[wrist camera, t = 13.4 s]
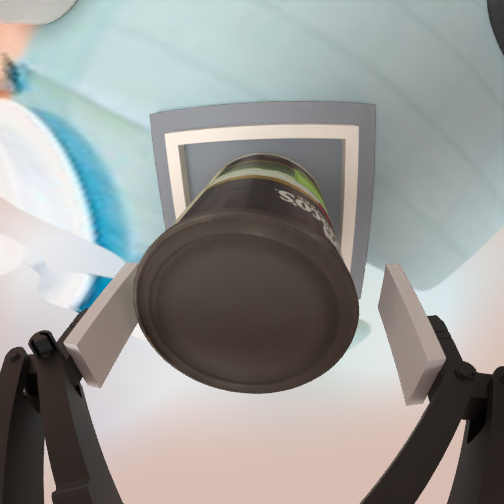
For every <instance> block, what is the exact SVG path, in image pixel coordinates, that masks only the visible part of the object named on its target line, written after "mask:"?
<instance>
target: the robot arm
mask: <svg viewBox="0 0 504 504" xmlns="http://www.w3.org/2000/svg"><path fill="white" fill-rule="evenodd" d="M488 8H489V14H490V18H491V22H492V26H493V29H494V32H495V35H496V37H497V40H498V42H499V45H500V47H501V49H502V51H503V53H504V0H488ZM137 267H138V263H126V264H125V265H124V266H123V268H122V269H121V270H120V271H119V273H117V275H116V276H115V277H114V278H113V279H112V281H111V282H110V283H109V284H108V286H107V287H106V288H105V289H104V290H103V292H102V293H101V294H100V295H99V297H98V298H97V299H96V300H95V302H94V303H93V304H92V305H91V307H90V308H86V309H85V310H83V311H82V312H80V313H79V314H78V315H77V317H76V318H75V319H74V321H73V322H72V323H71V324H70V325H69V327H68V328H67V330H66V331H65V332H64V333H63V335H62V336H61V337H60V338H59V340H58V341H57V342H56V341H55V339H54V337H53V335H52V333H51V332H50V331H46V330H43V331H39V332H38V333H35V334H34V335H33V336H32V337H31V338H30V340H29V343H28V345H29V347H30V348H31V350H32V352H33V353H34V354H30V355H28V354H27V353H26V351H25V350H24V348H22V347H16V348H13V349H11V350H10V351H9V352H8V353H7V354H6V356H5V359H4V362H3V365H2V369H1V372H0V504H44V487H43V485H44V484H43V465H44V439H45V440H46V446H47V450H48V455H49V460H50V464H51V469H52V473H53V477H54V481H55V484H56V491H54V492H52V501H53V504H123V502H122V500H121V498H120V495H119V493H118V491H117V489H116V486H115V484H114V482H113V479H112V477H111V474H110V472H109V470H108V467H107V464H106V462H105V459H104V456H103V453H102V451H101V448H100V445H99V442H98V439H97V436H96V433H95V430H94V427H93V424H92V420H91V417H90V414H89V410H88V407H87V403H86V399H85V395H84V392H83V388H82V386H81V384H80V381H81V379H82V377H83V378H84V380H85V381H86V383H87V384H88V385H90V386H94V387H98V388H101V386H102V385H103V383H104V381H105V379H106V377H107V375H108V374H109V372H110V370H111V368H112V366H113V365H114V363H115V361H116V359H117V357H118V356H119V354H120V352H121V350H122V349H123V347H124V345H125V343H126V342H127V340H128V338H129V337H130V335H131V333H132V331H133V330H134V328H135V326H136V325H137V323H138V320H137V318H136V314H135V310H134V306H133V292H132V291H133V282H134V277H135V274H136V270H137ZM378 309H379V312H380V315H381V318H382V322H383V325H384V328H385V331H386V334H387V337H388V341H389V344H390V347H391V350H392V354H393V357H394V361H395V364H396V368H397V371H398V375H399V378H400V383H401V386H402V390H403V394H404V398H405V402H406V405H407V406H408V405H415V404H422V403H423V402H424V400H425V399H426V397H427V395H428V398H429V401H430V403H429V405H428V407H427V408H426V410H425V412H424V413H423V415H422V417H421V419H420V421H419V422H418V424H417V426H416V427H415V429H414V431H413V432H412V434H411V435H410V437H409V438H408V440H407V441H406V443H405V444H404V446H403V448H402V449H401V450H400V452H399V453H398V455H397V456H396V458H395V459H394V460H393V462H392V463H391V465H390V466H389V467H388V469H387V470H386V471H385V473H384V474H383V475H382V477H381V478H380V479H379V481H378V482H377V483H376V485H375V486H374V487H373V488H372V489H371V491H370V492H369V493H368V494H367V496H366V497H365V498H364V499H363V500H362V501H361V503H360V504H414V503H415V502H416V501H417V499H418V498H419V496H420V494H421V493H422V491H423V490H424V488H425V487H426V485H427V483H428V482H429V480H430V478H431V477H432V475H433V473H434V472H435V470H436V468H437V466H438V465H439V463H440V461H441V459H442V457H443V455H444V454H445V452H446V449H447V448H448V446H449V443H450V442H451V440H452V438H453V436H454V434H455V432H456V429H457V427H458V425H459V423H460V421H461V419H463V420H466V426H465V432H464V437H463V443H462V448H461V453H460V457H459V462H458V466H457V470H456V474H455V478H454V482H453V486H452V489H451V492H450V496H449V499H448V502H447V504H504V366H501V367H499V368H497V369H496V370H495V371H494V373H493V374H483V373H478V372H476V369H475V368H474V367H473V366H472V365H471V364H469V363H468V362H464V361H463V360H462V358H461V356H460V354H459V352H458V350H457V347H456V345H455V343H454V341H453V339H451V335H450V333H449V332H448V329H447V327H446V325H445V324H444V322H443V321H442V320H441V319H440V318H439V317H438V316H437V315H434V316H426V313H425V311H424V310H423V307H422V305H421V303H420V301H419V300H418V297H417V295H416V294H415V292H414V290H413V288H412V286H411V284H410V282H409V280H408V278H407V277H406V275H405V273H404V271H403V269H402V267H401V266H400V264H386V268H385V273H384V280H383V284H382V290H381V295H380V300H379V305H378ZM24 390H25V391H24Z"/></svg>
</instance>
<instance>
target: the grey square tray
mask: <svg viewBox="0 0 504 504" xmlns="http://www.w3.org/2000/svg"><path fill="white" fill-rule="evenodd" d="M149 115H150V124H151V133H152V142H153V150H154V157H155V165H156V172H157V179H158V185H159V192H160V198H161V204H162V210H163V216H164V222H165V228H166V230H167V229H169V228H170V227H171V225H172V224H173V223H174V222H175V221H176V220H177V218H178V217H179V216H180V215H181V214H182V213H183V211H184V210H185V209H186V208H187V207H188V206H189V205H190V203H191V202H192V201H193V200H194V199H195V198H196V196H197V195H198V194H199V193H200V192H201V191H202V190H203V189H204V188H205V187H206V186H207V185H208V183H209V182H210V181H211V180H212V179H213V177H214V176H215V174H216V173H217V172H218V171H219V170H220V169H221V168H222V167H223V166H224V165H226V164H227V163H228V162H230V161H232V160H234V159H236V158H238V157H241V156H243V155H247V154H252V153H274V154H279V155H282V156H285V157H287V158H290V159H292V160H294V161H295V162H297V163H299V164H300V165H301V166H303V167H304V168H305V169H306V170H307V171H308V172H309V173H310V174H311V175H312V176H313V177H314V179H315V180H316V181H317V183H318V185H319V187H320V189H321V192H322V195H323V198H324V203H325V206H326V209H327V212H328V215H329V218H330V221H331V223H332V226H333V229H334V232H335V235H336V238H337V241H338V244H339V247H340V250H341V254H342V257H343V259H344V263H345V265H346V267H347V268H348V270H349V272H350V275H351V277H352V279H353V282H354V285H355V289H356V292H357V296H358V299H360V298H361V292H362V285H363V279H364V272H365V265H366V257H367V249H368V240H369V231H370V221H371V210H372V198H373V183H374V165H375V132H376V105H375V104H362V103H346V102H314V101H289V102H257V103H240V104H227V105H215V106H205V107H196V108H188V109H181V110H173V111H166V112H160V113H154V114H149Z"/></svg>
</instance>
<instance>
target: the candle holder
mask: <svg viewBox="0 0 504 504" xmlns="http://www.w3.org/2000/svg"><path fill="white" fill-rule="evenodd" d="M76 1H77V0H0V24H48V23H51V22H53V21H55V20H57V19H59V18H60V17H61V16H63V15H64V14H65V13H66V12H67V11H68V10H69V9H70V8H71V7H72V6H73V5H74V3H75V2H76Z"/></svg>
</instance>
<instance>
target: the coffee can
mask: <svg viewBox="0 0 504 504" xmlns="http://www.w3.org/2000/svg"><path fill="white" fill-rule="evenodd" d="M132 292H133V306H134V310H135V314H136V318H137V320H138V323H139V325H140V328H141V330H142V332H143V334H144V335H145V337H146V339H147V340H148V341H149V343H150V344H151V346H152V347H153V348H154V349H155V350H156V352H157V353H158V354H159V355H160V356H161V357H162V358H163V359H164V360H165V361H166V362H168V363H169V364H171V366H173V367H174V368H175V369H177V370H178V371H180V372H182V373H183V374H185V375H186V376H188V377H190V378H192V379H194V380H196V381H198V382H201V383H203V384H206V385H208V386H212V387H215V388H218V389H222V390H226V391H231V392H240V393H252V394H262V393H272V392H280V391H285V390H289V389H293V388H295V387H298V386H301V385H303V384H306V383H308V382H310V381H312V380H314V379H316V378H318V377H319V376H321V375H322V374H324V373H325V372H327V371H328V370H329V369H330V368H332V367H333V366H334V365H335V364H336V363H337V362H338V361H339V360H340V359H341V358H342V357H343V355H344V353H345V352H346V351H347V349H348V348H349V346H350V344H351V342H352V340H353V337H354V335H355V332H356V328H357V325H358V319H359V303H358V296H357V292H356V289H355V285H354V282H353V279H352V277H351V275H350V272H349V270H348V268H347V267H346V265H345V263H344V259H343V257H342V254H341V250H340V247H339V244H338V241H337V238H336V235H335V232H334V229H333V226H332V223H331V221H330V218H329V215H328V212H327V209H326V206H325V203H324V198H323V195H322V192H321V189H320V187H319V185H318V183H317V181H316V180H315V179H314V177H313V176H312V175H311V174H310V173H309V172H308V171H307V170H306V169H305V168H304V167H303V166H301V165H300V164H299V163H297V162H295V161H294V160H292V159H290V158H287V157H285V156H282V155H279V154H274V153H252V154H247V155H243V156H241V157H238V158H236V159H234V160H232V161H230V162H228V163H227V164H226V165H224V166H223V167H222V168H221V169H220V170H219V171H218V172H217V173H216V174H215V176H214V177H213V179H212V180H211V181H210V182H209V183H208V185H207V186H206V187H205V188H204V189H203V190H202V191H201V192H200V193H199V194H198V195H197V196H196V198H195V199H194V200H193V201H192V202H191V203H190V205H189V206H188V207H187V208H186V209H185V210H184V211H183V213H182V214H181V215H180V216H179V217H178V218H177V220H176V221H175V222H174V223H173V224H172V225H171V227H170V228H169V229H167V230H166V231H165V232H164V233H163V234H161V235H160V236H159V237H158V238H157V239H156V240H155V241H154V243H153V244H152V245H151V246H150V247H149V248H148V249H147V251H146V252H145V254H144V256H143V257H142V259H141V261H140V263H139V265H138V267H137V270H136V274H135V277H134V282H133V291H132Z"/></svg>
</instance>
